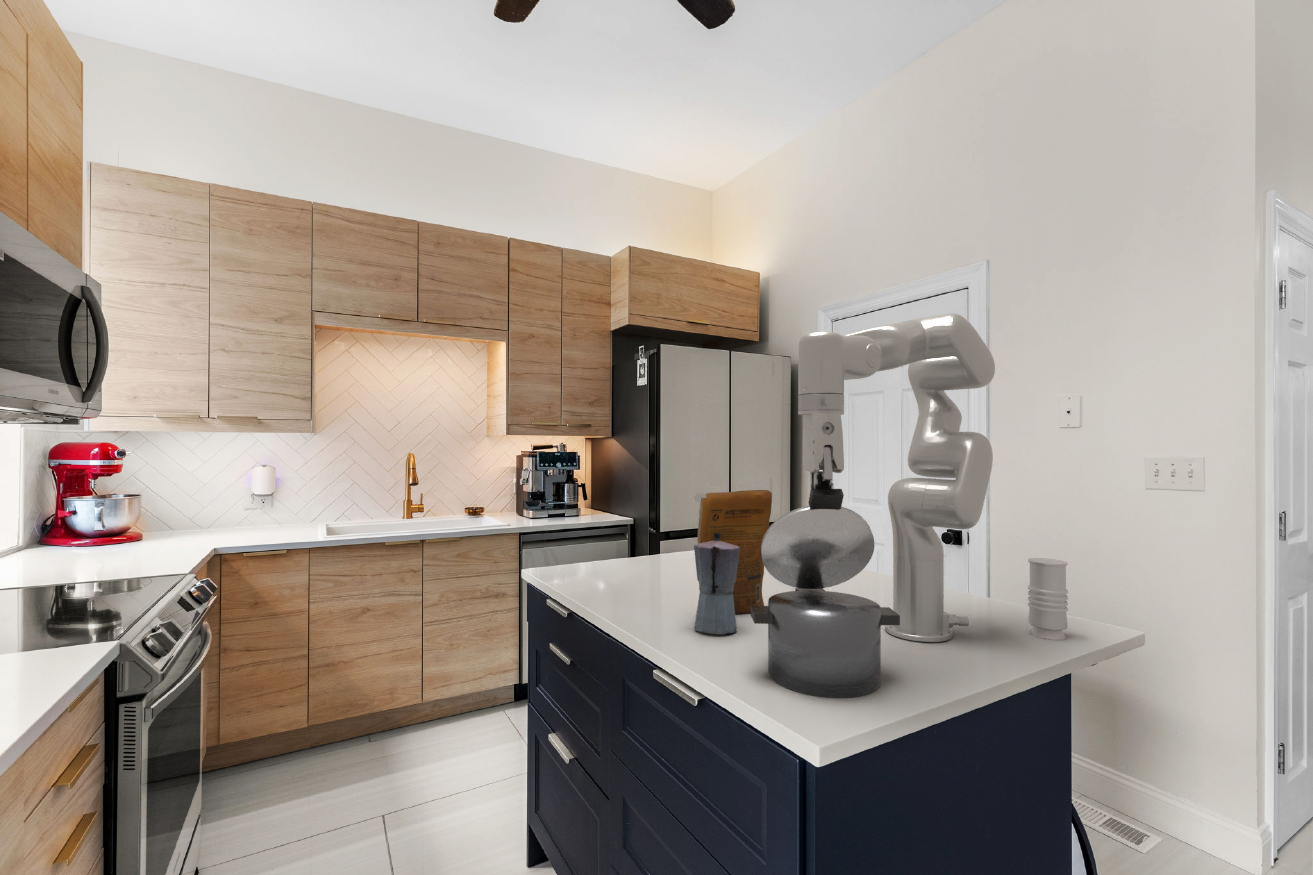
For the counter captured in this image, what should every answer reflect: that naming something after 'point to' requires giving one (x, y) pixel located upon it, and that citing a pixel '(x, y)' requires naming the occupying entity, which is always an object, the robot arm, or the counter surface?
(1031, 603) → the grey ribbed canister
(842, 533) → the lid
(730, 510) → the pancake mix bag
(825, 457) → the robot arm
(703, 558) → the moka pot
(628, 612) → the counter surface
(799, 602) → the cooker pot
